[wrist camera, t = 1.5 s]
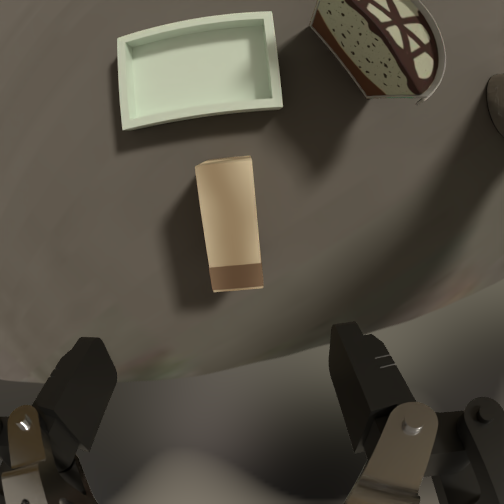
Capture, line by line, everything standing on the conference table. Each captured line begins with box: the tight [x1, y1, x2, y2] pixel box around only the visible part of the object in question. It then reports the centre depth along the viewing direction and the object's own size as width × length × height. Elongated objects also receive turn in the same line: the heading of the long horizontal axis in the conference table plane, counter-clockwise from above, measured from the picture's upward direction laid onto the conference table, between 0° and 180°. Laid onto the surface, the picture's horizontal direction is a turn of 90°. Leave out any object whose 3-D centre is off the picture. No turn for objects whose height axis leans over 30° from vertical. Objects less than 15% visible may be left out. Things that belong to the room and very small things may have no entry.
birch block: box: [195, 156, 264, 292], centre depth 24 cm, size 4×10×7 cm, turn 5°
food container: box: [309, 0, 446, 105], centre depth 17 cm, size 12×6×10 cm, turn 38°
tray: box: [117, 11, 283, 130], centre depth 21 cm, size 14×10×2 cm
